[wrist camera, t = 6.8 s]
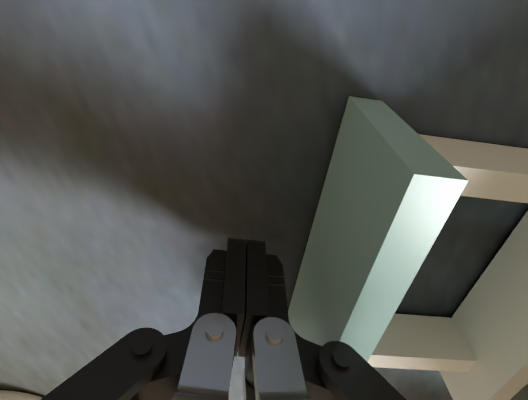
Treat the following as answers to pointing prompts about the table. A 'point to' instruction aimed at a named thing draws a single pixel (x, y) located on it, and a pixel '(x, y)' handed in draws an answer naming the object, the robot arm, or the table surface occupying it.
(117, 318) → the table surface
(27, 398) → the mug
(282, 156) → the table surface
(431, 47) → the table surface
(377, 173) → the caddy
